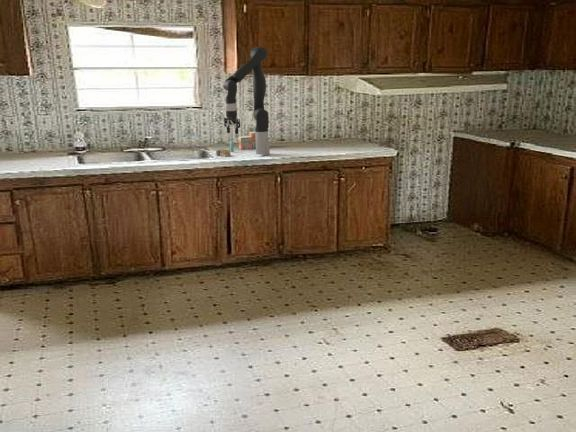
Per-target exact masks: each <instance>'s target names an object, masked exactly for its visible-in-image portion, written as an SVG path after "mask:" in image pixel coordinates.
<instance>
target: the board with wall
mask: <svg viewBox="0 0 576 432" xmlns="http://www.w3.org/2000/svg"><path fill="white" fill-rule="evenodd" d="M220 150H225V149H224V148H222V149H221V148H220V149H217V150H215V155H216V157H219V156H220Z"/></svg>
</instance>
